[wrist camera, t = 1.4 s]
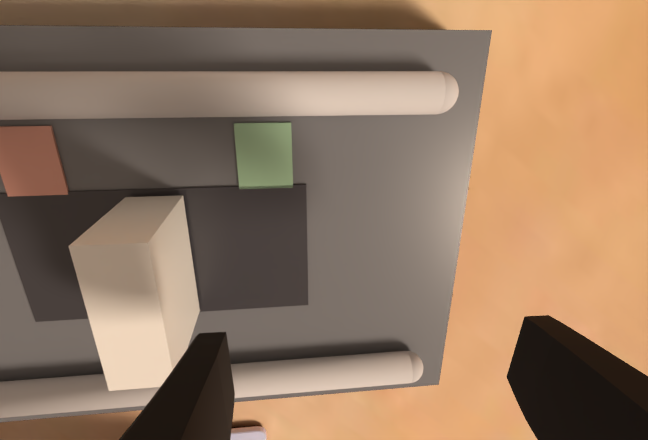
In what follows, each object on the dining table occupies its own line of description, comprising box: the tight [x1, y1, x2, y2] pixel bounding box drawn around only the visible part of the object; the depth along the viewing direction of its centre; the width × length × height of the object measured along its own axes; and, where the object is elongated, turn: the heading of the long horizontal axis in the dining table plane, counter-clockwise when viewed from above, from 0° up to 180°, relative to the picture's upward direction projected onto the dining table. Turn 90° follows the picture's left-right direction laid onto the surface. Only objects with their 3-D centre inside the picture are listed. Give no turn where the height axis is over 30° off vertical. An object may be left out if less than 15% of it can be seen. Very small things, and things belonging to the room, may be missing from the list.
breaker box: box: [0, 25, 492, 422], centre depth 16 cm, size 16×24×3 cm, turn 90°
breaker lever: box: [69, 195, 200, 391], centre depth 13 cm, size 5×2×4 cm, turn 0°
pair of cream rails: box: [0, 71, 459, 418], centre depth 14 cm, size 13×21×1 cm, turn 90°
